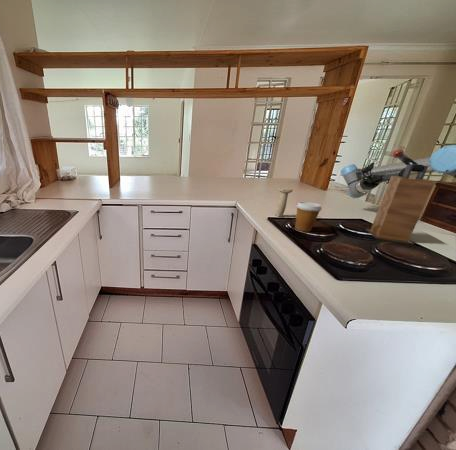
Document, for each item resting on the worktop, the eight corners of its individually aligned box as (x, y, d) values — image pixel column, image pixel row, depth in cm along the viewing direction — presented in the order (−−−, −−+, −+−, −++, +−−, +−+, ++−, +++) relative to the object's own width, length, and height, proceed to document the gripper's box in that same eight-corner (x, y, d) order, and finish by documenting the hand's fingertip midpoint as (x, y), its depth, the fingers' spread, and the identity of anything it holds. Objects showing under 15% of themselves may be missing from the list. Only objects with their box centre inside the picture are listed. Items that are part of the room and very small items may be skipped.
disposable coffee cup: (310, 234, 102) (317, 208, 98) (287, 228, 109) (293, 203, 105) (318, 230, 108) (325, 205, 104) (296, 224, 114) (302, 200, 110)
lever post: (364, 231, 109) (390, 163, 98) (397, 236, 105) (428, 165, 94) (375, 240, 98) (405, 165, 88) (412, 246, 94) (449, 168, 84)
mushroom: (274, 213, 130) (280, 187, 125) (286, 216, 127) (293, 189, 122) (271, 215, 127) (277, 188, 122) (284, 218, 123) (291, 190, 118)
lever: (389, 156, 108) (393, 148, 106) (399, 156, 107) (403, 148, 105) (409, 173, 92) (414, 164, 90) (421, 174, 91) (426, 165, 89)
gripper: (396, 193, 123) (426, 176, 104) (339, 187, 132) (357, 171, 113) (397, 179, 124) (427, 161, 105) (341, 175, 133) (358, 157, 114)
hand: (391, 166), depth 109 cm, fingers open, 13 cm apart
